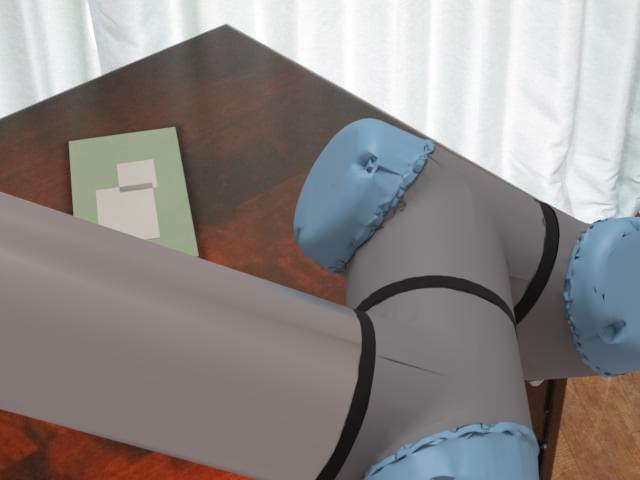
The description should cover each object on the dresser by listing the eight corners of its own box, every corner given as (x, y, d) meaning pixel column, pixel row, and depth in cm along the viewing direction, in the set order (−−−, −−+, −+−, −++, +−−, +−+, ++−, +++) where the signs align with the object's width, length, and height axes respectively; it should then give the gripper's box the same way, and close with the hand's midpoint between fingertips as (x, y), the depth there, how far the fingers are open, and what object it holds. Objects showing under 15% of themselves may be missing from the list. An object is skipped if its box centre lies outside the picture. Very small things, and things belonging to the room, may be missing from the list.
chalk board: (199, 260, 114) (198, 255, 114) (78, 278, 113) (76, 273, 112) (175, 130, 130) (175, 125, 130) (69, 145, 129) (68, 140, 128)
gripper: (347, 494, 62) (208, 486, 81) (638, 280, 74) (458, 316, 93) (281, 373, 62) (157, 393, 81) (584, 178, 74) (414, 235, 92)
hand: (318, 352), depth 87 cm, fingers open, 13 cm apart
